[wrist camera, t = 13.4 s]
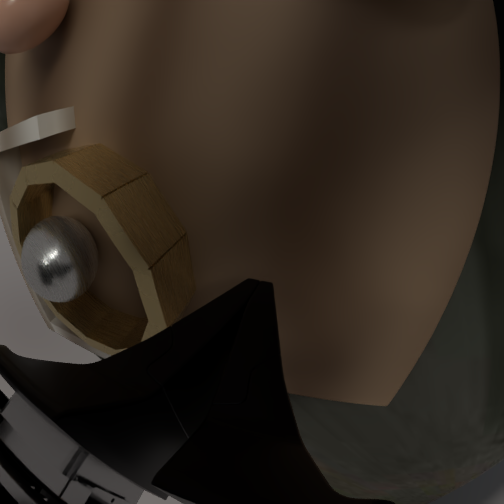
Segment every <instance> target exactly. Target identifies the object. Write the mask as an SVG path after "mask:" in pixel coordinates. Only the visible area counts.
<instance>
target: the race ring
mask: <svg viewBox="0 0 504 504" xmlns="http://www.w3.org/2000/svg"><path fill="white" fill-rule="evenodd" d="M147 173H148V172H147V171H146V170H144V169H142V168H141V167H139V166H138V165H136V164H134V163H133V162H131V161H129V160H128V159H126V158H125V157H123V156H121V155H120V154H118V153H116V152H115V151H113V150H112V149H110V148H108V147H107V146H105V145H103V144H102V143H101V144H100V143H97V144H91V145H86V146H80V147H75V148H70V149H65V150H62V151H60V152H57V153H54V154H52V155H49V156H47V157H44V158H42V159H40V160H37V161H35V162H33V163H30V164H28V165H26V166H24V167H22V168H21V170H20V173H19V175H18V177H17V180H16V182H15V185H14V187H13V190H12V192H11V195H10V214H11V225H12V234H13V238H14V242H15V245H16V248H17V250H18V253H19V255H20V258H21V253H22V247H23V244H24V241H25V239H26V237H27V235H28V233H29V232H30V230H31V229H32V228H33V227H34V226H35V225H36V224H37V223H39V222H40V221H42V220H43V219H45V218H48V217H52V203H53V189H54V187H55V186H56V184H57V185H58V186H59V187H61V188H62V189H63V190H64V191H66V192H67V193H68V194H70V195H71V196H72V197H73V198H75V199H76V200H77V201H78V202H80V203H81V204H82V205H84V206H85V207H86V208H88V209H89V210H90V211H91V212H93V213H94V214H95V215H96V217H97V219H98V220H99V222H100V223H101V225H102V226H103V228H104V230H105V231H106V233H107V234H108V236H109V237H110V239H111V240H112V242H113V243H114V245H115V246H116V248H117V249H118V250H119V252H120V253H121V255H122V256H123V258H124V259H125V261H126V262H127V263H128V265H129V266H130V268H131V269H132V270H133V274H134V277H135V280H136V284H137V287H138V290H139V293H140V297H141V300H142V303H143V306H144V309H145V312H146V315H147V317H144V318H139V317H136V316H133V315H129V314H126V313H123V312H120V311H117V310H114V309H112V308H110V307H109V306H108V305H106V304H105V303H104V302H103V301H101V300H100V299H99V298H98V297H96V296H95V295H94V294H93V293H91V292H90V291H89V290H88V289H87V291H86V292H84V293H83V294H82V295H81V296H79V297H78V298H76V299H74V300H71V301H68V302H52V301H49V300H46V299H44V298H43V300H44V301H45V302H46V304H47V305H48V307H49V308H50V309H51V311H52V312H53V313H54V315H55V316H57V318H58V319H59V320H60V321H61V322H62V323H64V324H65V325H66V326H67V327H68V328H69V329H70V330H71V331H73V332H74V333H75V334H76V335H77V336H78V337H80V338H81V339H82V340H83V341H84V342H86V343H87V344H88V345H90V346H91V347H94V348H96V349H98V350H100V351H102V352H104V353H106V354H109V355H111V356H112V355H114V354H116V353H119V352H121V351H123V350H125V349H127V348H130V347H132V346H134V345H136V344H138V343H140V342H142V341H144V340H146V339H148V338H150V337H152V336H153V335H155V334H157V333H159V332H161V331H162V330H164V329H166V328H167V327H169V326H171V327H172V324H174V323H176V322H177V321H179V320H181V318H182V316H183V314H184V312H185V310H186V308H187V306H188V305H189V303H190V301H191V299H192V297H193V295H194V293H195V292H196V284H195V278H194V272H193V266H192V260H191V254H190V247H189V241H188V234H187V233H186V232H187V231H186V230H185V228H184V227H183V225H182V224H181V222H180V221H179V219H178V218H177V216H176V215H175V213H174V211H173V210H172V208H171V207H170V205H169V204H168V202H167V201H166V199H165V197H164V196H163V194H162V193H161V191H160V190H159V188H158V186H157V185H156V183H155V182H154V180H153V178H152V177H151V175H150V174H147Z"/></svg>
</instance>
